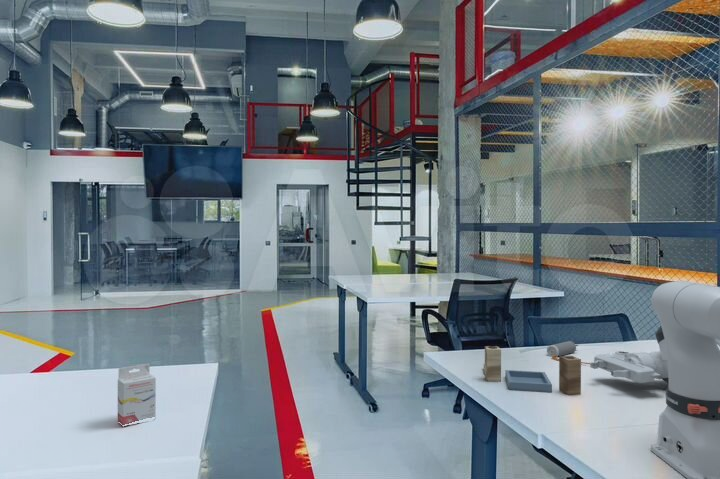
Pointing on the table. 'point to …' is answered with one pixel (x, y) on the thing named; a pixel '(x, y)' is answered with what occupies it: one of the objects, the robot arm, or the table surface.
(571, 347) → the motor
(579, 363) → the walnut block
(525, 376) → the tray
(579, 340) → the table surface
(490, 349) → the oak block
